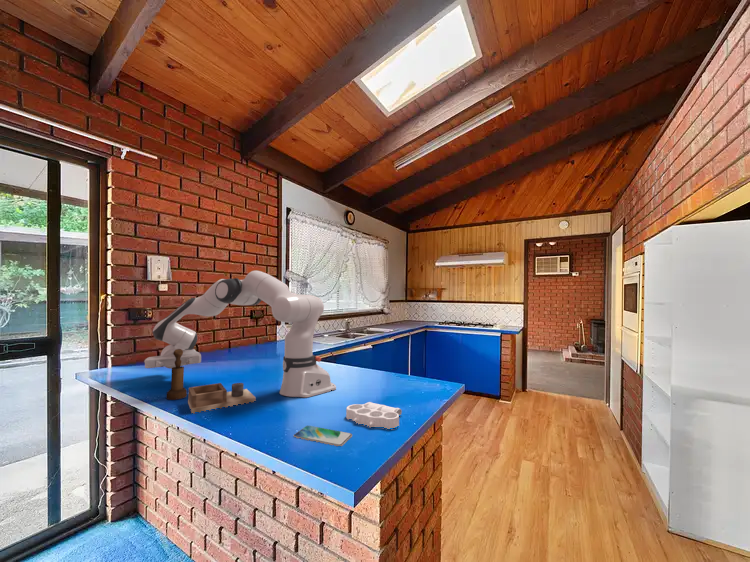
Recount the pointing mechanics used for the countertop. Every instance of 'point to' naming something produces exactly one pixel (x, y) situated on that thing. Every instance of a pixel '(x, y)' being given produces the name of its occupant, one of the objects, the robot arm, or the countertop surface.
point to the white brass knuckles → (374, 415)
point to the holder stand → (217, 397)
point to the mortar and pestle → (177, 379)
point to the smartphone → (323, 435)
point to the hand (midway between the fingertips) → (175, 363)
